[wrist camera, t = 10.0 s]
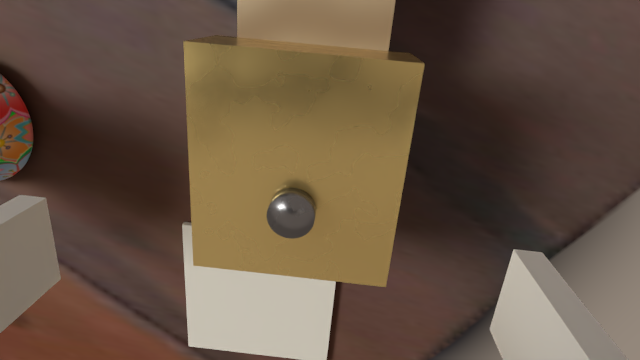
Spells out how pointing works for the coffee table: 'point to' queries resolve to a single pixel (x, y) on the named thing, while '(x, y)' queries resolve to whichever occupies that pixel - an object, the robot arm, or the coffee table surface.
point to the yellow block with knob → (297, 155)
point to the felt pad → (256, 310)
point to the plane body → (318, 22)
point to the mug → (13, 131)
